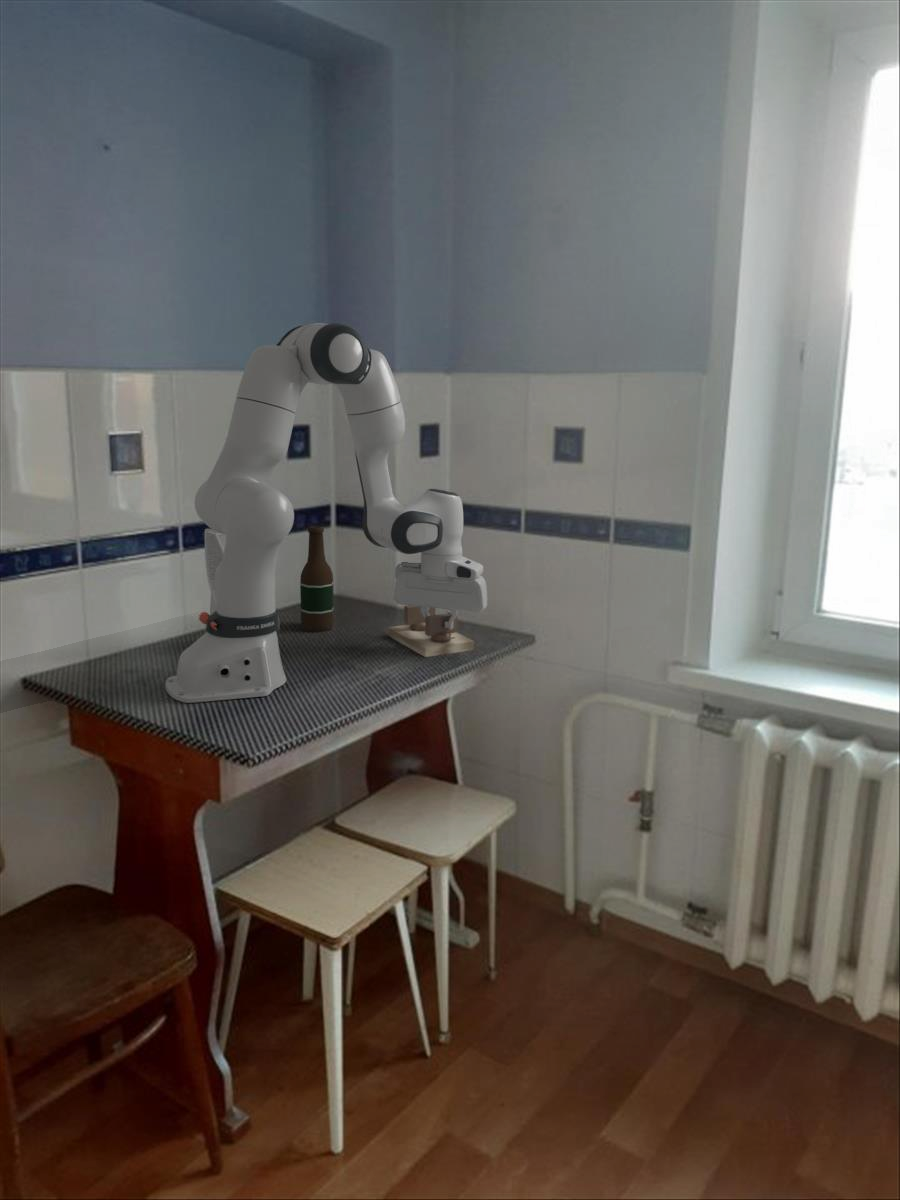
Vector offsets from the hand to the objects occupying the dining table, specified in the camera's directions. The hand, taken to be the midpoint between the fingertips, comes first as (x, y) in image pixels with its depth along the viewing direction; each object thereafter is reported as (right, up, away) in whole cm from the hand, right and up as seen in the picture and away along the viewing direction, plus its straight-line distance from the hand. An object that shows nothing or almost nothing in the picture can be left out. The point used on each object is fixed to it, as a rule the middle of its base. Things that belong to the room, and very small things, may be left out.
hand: (439, 627), depth 202 cm
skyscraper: (-46, -5, 0) cm, 47 cm away
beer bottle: (-29, -1, +16) cm, 33 cm away
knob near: (0, -3, +1) cm, 3 cm away
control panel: (-2, -4, +6) cm, 7 cm away
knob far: (-5, -1, +9) cm, 11 cm away
